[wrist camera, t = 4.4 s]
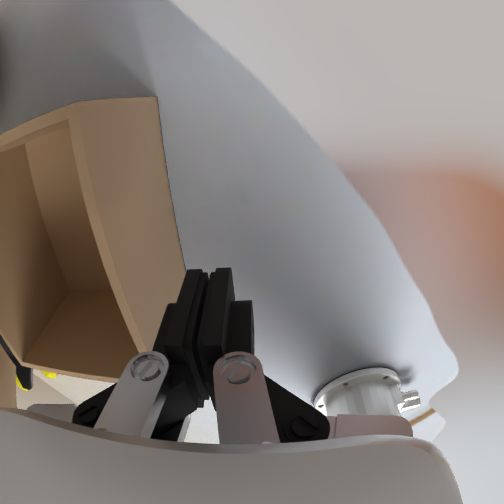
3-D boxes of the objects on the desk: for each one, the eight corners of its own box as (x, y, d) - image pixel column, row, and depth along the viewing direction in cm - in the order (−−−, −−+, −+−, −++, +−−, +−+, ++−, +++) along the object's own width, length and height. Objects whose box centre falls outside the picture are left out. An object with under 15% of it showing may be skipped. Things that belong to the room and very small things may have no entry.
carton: (157, 96, 19) (77, 101, 9) (190, 289, 27) (164, 387, 17) (23, 137, 19) (-65, 174, 10) (70, 292, 27) (21, 365, 18)
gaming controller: (74, 349, 32) (22, 296, 28) (59, 380, 28) (0, 324, 24) (37, 371, 36) (-4, 331, 32) (25, 395, 32) (-20, 353, 28)
